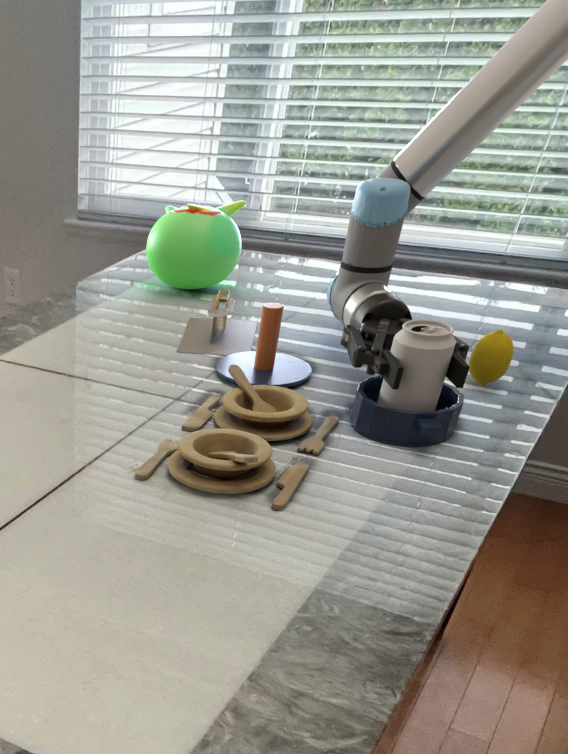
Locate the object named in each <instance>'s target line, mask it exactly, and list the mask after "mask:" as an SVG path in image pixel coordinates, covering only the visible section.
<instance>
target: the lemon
mask: <svg viewBox="0 0 568 754" xmlns="http://www.w3.org/2000/svg"><path fill="white" fill-rule="evenodd" d="M513 357H514V342H513V340H512V338H511V337H510V336H509V335H508V333H506V332H504V330H503V329H496V330H495V331H490V332H488V333H486V334H484V335H482V337H481V338H480V339H479V340H478V341H477V342H476V343H475V345H474V346H473V348H472V350H471V352H470V355H469V359H468V363H467V364H468V365H469V366H470V368H469V371H468V373H469V375H470V377H471V378H472V379H473V380H474V381H475V382H477V384H478V386H479V387H484V386H487V385H488V384H491V383H494V382H496V381H498V380H499V379H501V378H502V377H503V376H504V375H505V374H506V372H507V371H508V369H509V367H510V366H511V363H512V360H513Z"/></svg>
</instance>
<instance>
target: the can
mask: <svg viewBox="0 0 568 754" xmlns="http://www.w3.org/2000/svg"><path fill="white" fill-rule="evenodd" d="M402 327H403V329H402V330H400V331H399V332H398V333H397V334H396V335H395V336H394V340H393V344H392V347H391V351H390V352H391V353H392V355H393V356H394V357H395V358H396V359H397V360H398V361H399V362H400V364H401V365H402V366H403V367H404V370H403V374H402V378H401V381H400V385H399V389H392V388H391V387H390V386H389V385H388V383H387V382H386V381H385V380H384V378H383V382H382V386H381V390H380V394H379V398H378V401H377V403H378V404H381V405H385V406H388V407H392V408H395V409H401V410H409V411H435V409H436V406H437V402H438V399H439V396H440V393H441V389H442V386H443V383H444V382H445V379H446V373H447V370H448V367H449V363H450V360H451V357H452V354H453V350H454V347H455V344H456V340H455V339H454V337H453V335H454V332H455V328H454V326H453V325H451V324H449V323H447V322H444V321H441V320H436V319H430V318H429V319H427V318H419V319H418V318H417V319H412V320H410V321H407V322H405V323H404V324H403V325H402Z"/></svg>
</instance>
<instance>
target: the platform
mask: <svg viewBox="0 0 568 754" xmlns="http://www.w3.org/2000/svg"><path fill="white" fill-rule="evenodd" d="M225 291H227V292H228V293H226V292H225ZM220 303H222V304H223V303H224V304H225V308H220ZM235 305H236V298H235V297H231V289H226V288H219V290H218V294H215V295H213V296H212V298H211V301H210V304H209V307H208V310H207V313H206V317H208V318H205V317H189V319H188V322H187V324H186V327H185V329H184V331H183V334H182V335H181V339H180V342H179V345H178V347H177V349H176V353H187V354H188V353H189V354H202V355H203V354H204V355H205V354H206V355H219V356H228V355H231V354H235V353H240V352H248V351H253V350H252V349H253V345H254V339H255V335H256V332H257V331H256V330H257V325H258V320H244V319H243V320H241V319H228V316H231V315H233V312H234V309H235Z"/></svg>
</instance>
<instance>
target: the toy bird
mask: <svg viewBox="0 0 568 754" xmlns="http://www.w3.org/2000/svg"><path fill="white" fill-rule="evenodd" d="M246 204H247V201H246V200H238V201H237V200H236V201H233V202H230V203H227V204H224V205H221V206H218V207H214V206H210V205H198V204H195V203H194V204H193V203H186V205H182V206H180V207H176V206H174V205H166V206H165V208H164V209H165V213H164V214H163V215H162V216H161V217H159V218H158V219H157V220H156V221H155V223H154V224H153V226H152V227H151V229H150V231H149V234H148V236H147V239H146V245H145V255H146V256H145V257H146V260H147V261H146V262H147V264H148V267H149V269H150V271H151V272H152V273H153V275H154V276H155V277H156V278H157V279H158V280H160V281H161V282H163V283H164V284H167V285H169V286H171V287H173V288H177V289H182V290H202V289H207V288H211V287H214V286H216V285H217V284H220V283H222V282H223V281H224V280H225V279H227V278H228V277H229V276H230V274H232V273H233V271H234V270H235V268H236V267H237V264H238V262H239V261H240V257H241V253H242V244H243V243H242V236H241V232H240V229H239V227H238V225H237V223H236V222H235V221H234V219H233V218H231V217H233V216H234V215H235V214H237V213H238V212H239V211H240V210H242V209H243V208H244V207H245V206H246Z"/></svg>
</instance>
